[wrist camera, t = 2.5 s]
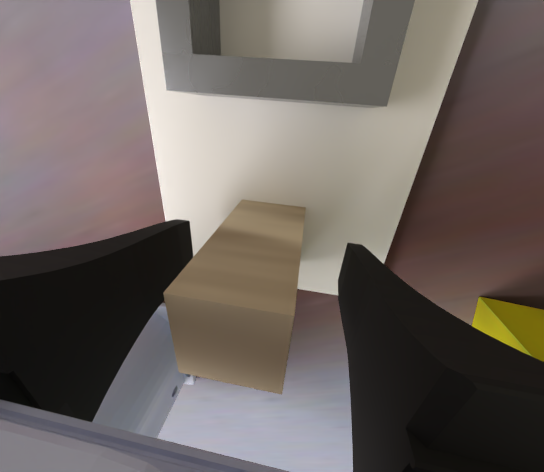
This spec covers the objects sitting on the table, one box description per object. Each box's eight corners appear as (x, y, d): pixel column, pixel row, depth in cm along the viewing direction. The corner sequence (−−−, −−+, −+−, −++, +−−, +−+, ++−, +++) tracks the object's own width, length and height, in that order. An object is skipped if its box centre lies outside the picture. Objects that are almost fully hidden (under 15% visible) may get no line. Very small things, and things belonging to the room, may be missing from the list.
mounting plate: (367, 289, 14) (370, 300, 13) (181, 259, 16) (173, 268, 15) (535, -208, 6) (571, -260, 5) (120, -181, 8) (94, -219, 7)
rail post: (297, 261, 13) (281, 394, 7) (241, 253, 13) (178, 372, 7) (305, 207, 11) (294, 315, 5) (241, 199, 12) (163, 292, 6)
